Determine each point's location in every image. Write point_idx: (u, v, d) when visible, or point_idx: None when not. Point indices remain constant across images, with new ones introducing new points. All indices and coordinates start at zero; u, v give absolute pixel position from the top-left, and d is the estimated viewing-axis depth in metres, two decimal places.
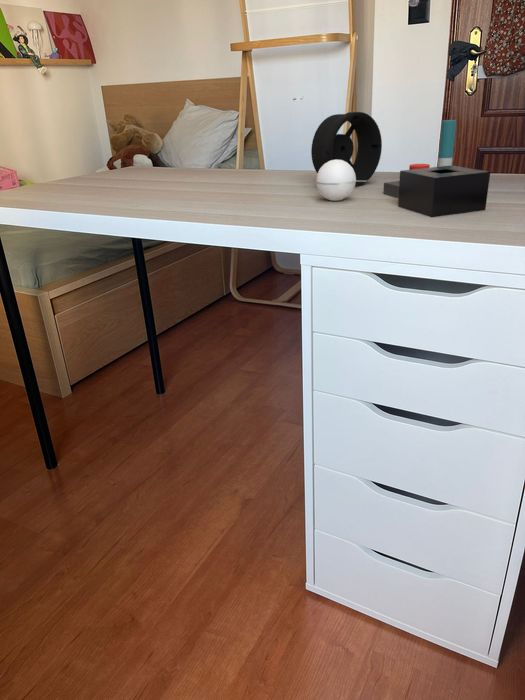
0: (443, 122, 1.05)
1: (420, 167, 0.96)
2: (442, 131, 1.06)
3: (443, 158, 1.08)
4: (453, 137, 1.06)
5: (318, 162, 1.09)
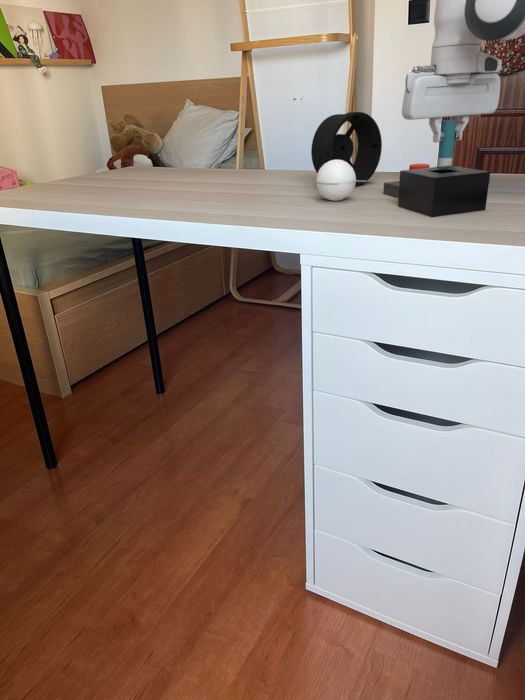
0: (443, 122, 1.05)
1: (420, 167, 0.96)
2: (442, 131, 1.06)
3: (443, 158, 1.08)
4: (453, 137, 1.06)
5: (318, 162, 1.09)
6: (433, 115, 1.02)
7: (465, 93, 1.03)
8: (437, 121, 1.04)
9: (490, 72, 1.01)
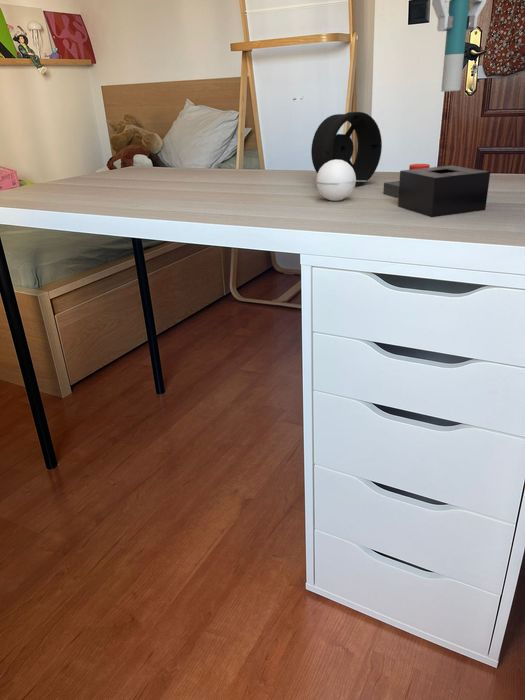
0: (451, 1, 0.76)
1: (420, 167, 0.96)
2: (450, 15, 0.77)
3: (451, 54, 0.79)
4: (465, 24, 0.77)
5: (318, 162, 1.09)
6: None
7: None
8: None
9: None
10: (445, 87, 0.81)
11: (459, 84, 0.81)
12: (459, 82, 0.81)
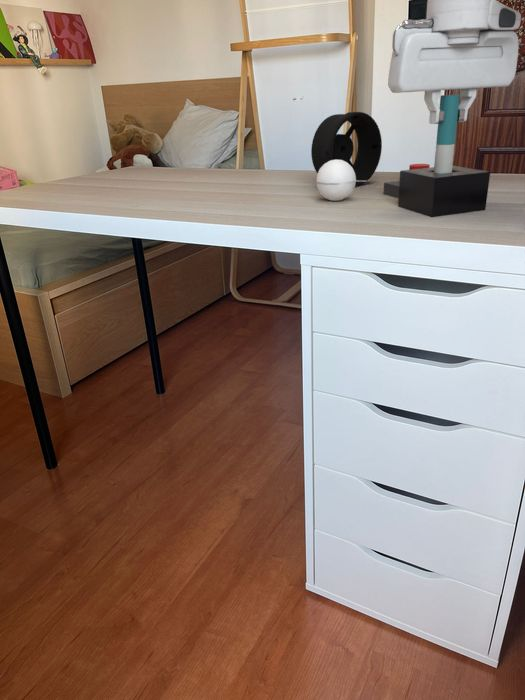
0: (442, 97, 0.80)
1: (420, 167, 0.96)
2: (441, 109, 0.81)
3: (442, 145, 0.82)
4: (456, 117, 0.81)
5: (318, 162, 1.09)
6: (429, 87, 0.77)
7: (472, 57, 0.77)
8: (435, 95, 0.78)
9: (506, 29, 0.76)
10: None
11: (450, 171, 0.84)
12: (450, 170, 0.84)
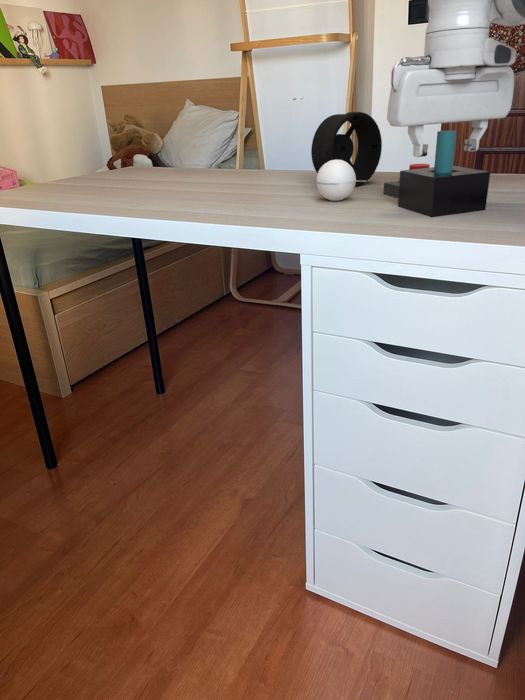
0: (439, 133, 0.82)
1: (420, 167, 0.96)
2: (438, 145, 0.83)
3: None
4: (452, 153, 0.83)
5: (318, 162, 1.09)
6: (427, 121, 0.79)
7: (469, 92, 0.79)
8: (418, 130, 0.80)
9: (501, 65, 0.78)
10: None
11: None
12: None
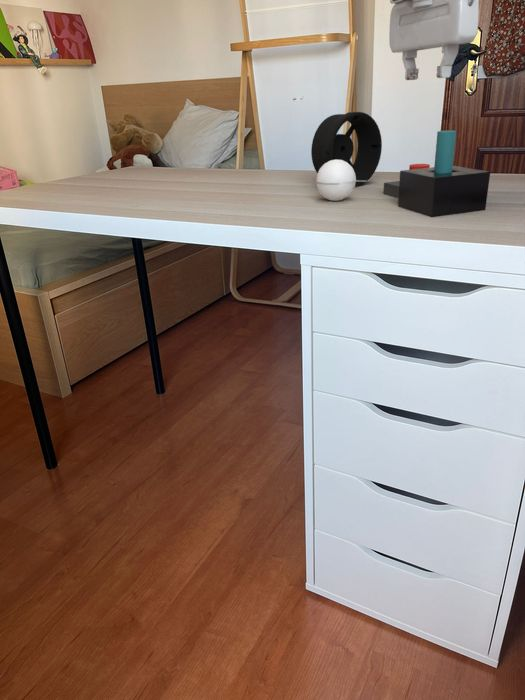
0: (439, 133, 0.82)
1: (420, 167, 0.96)
2: (438, 145, 0.83)
3: None
4: (452, 153, 0.83)
5: (318, 162, 1.09)
6: None
7: None
8: None
9: None
10: None
11: None
12: None
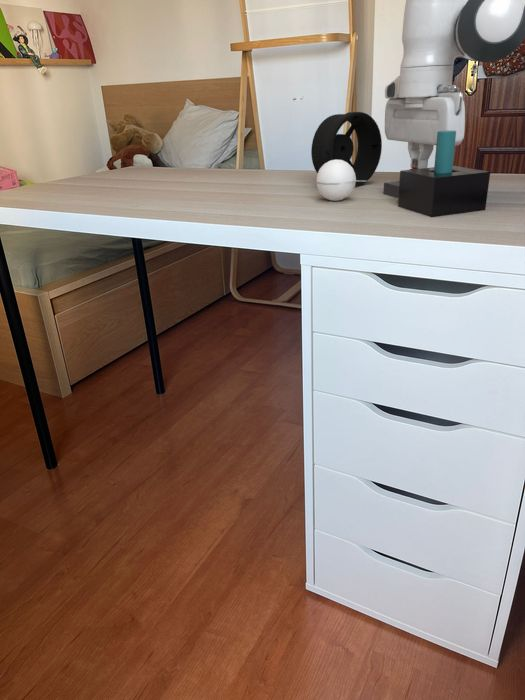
0: (439, 133, 0.82)
1: None
2: (438, 145, 0.83)
3: None
4: (452, 153, 0.83)
5: (318, 162, 1.09)
6: None
7: None
8: None
9: None
10: None
11: None
12: None
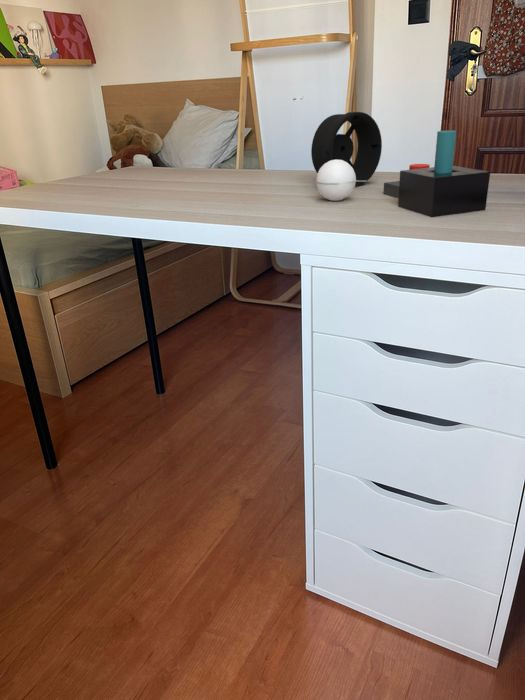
0: (439, 133, 0.82)
1: (420, 167, 0.96)
2: (438, 145, 0.83)
3: None
4: (452, 153, 0.83)
5: (318, 162, 1.09)
6: None
7: None
8: None
9: None
10: None
11: None
12: None
